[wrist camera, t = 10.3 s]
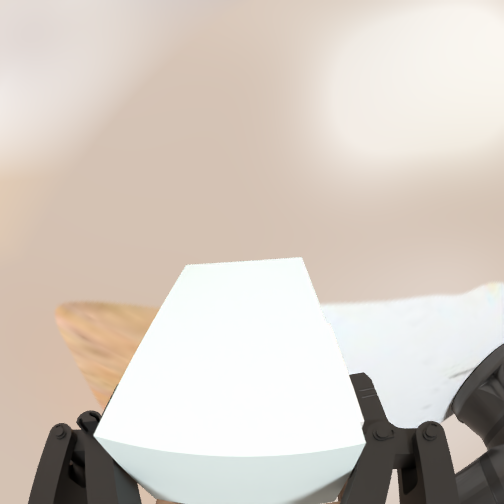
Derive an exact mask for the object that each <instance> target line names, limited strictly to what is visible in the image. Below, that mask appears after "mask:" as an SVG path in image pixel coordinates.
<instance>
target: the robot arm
mask: <svg viewBox="0 0 504 504" xmlns="http://www.w3.org/2000/svg"><path fill="white" fill-rule="evenodd" d="M327 325H328V328H329V331H330V334H331V337H332V339H333V342H334V345H335V348H336V351H337V354H338V357H339V359H340V362H341V365H342V368H343V371H344V374H345V377H346V380H347V383H348V386H349V389H350V393H351V396H352V399H353V402H354V405H355V408H356V411H357V415H358V418H359V421H360V425H361V428H362V431H363V435H364V438H365V441H366V444H365V446H364V448H363V450H362V452H361V454H360V456H359V458H358V460H357V462H356V464H355V466H354V468H353V470H352V472H351V474H350V475H349V478H348V481H347V484H346V487H345V490H344V493H343V496H342V499H341V502H340V504H385V502H386V497H387V493H388V489H389V484H390V480H391V475H392V469H397V473H398V484H399V497H400V504H504V344H503V345H502V346H500V347H499V348H498V349H496V350H495V351H494V352H493V353H492V354H490V355H489V356H488V357H487V358H486V359H485V360H484V361H483V362H482V363H481V364H480V365H479V366H478V367H477V369H476V370H475V371H474V372H473V373H472V374H471V375H470V377H469V378H468V379H467V380H466V382H465V383H464V384H463V386H462V387H461V389H460V390H459V392H458V394H457V395H456V397H455V399H454V402H453V406H452V409H453V412H454V414H455V415H456V417H457V419H458V420H459V421H460V422H462V423H465V424H466V425H467V426H468V427H469V428H470V429H471V430H473V431H474V432H475V433H476V434H477V435H479V436H480V437H481V438H482V440H483V442H484V444H485V446H486V447H487V450H488V451H487V452H486V453H484V454H483V455H482V456H480V457H479V458H478V459H477V460H475V461H474V462H472V463H471V464H469V465H468V466H467V467H465V468H464V469H462V470H461V471H459V472H458V473H456V474H455V473H454V469H453V464H452V460H451V455H450V451H449V447H448V443H447V439H446V436H445V432H444V429H443V427H442V426H441V425H440V424H439V423H437V422H434V421H427V422H424V423H422V424H421V425H420V426H419V427H418V428H409V429H404V428H398V427H395V426H394V425H393V424H391V423H390V422H389V421H388V420H387V418H386V415H385V413H384V410H383V407H382V405H381V402H380V400H379V397H378V396H377V393H376V390H375V389H374V385H373V383H372V380H371V379H370V378H369V377H368V376H367V375H366V374H365V373H358V374H352V375H349V374H348V371H347V368H346V365H345V362H344V360H343V357H342V354H341V351H340V349H339V346H338V343H337V340H336V338H335V335H334V332H333V330H332V327H331V324H330V323H328V324H327ZM118 385H119V384H118ZM118 385H117V386H116V388H117V387H118ZM116 388H115V390H116ZM115 390H114V392H115ZM114 392H113V394H114ZM112 396H113V395H112ZM112 396H111V398H112ZM111 398H110V400H111ZM110 400H109V402H110ZM109 402H108V404H109ZM108 404H107V406H108ZM107 406H106V408H107ZM106 408H105V410H106ZM105 410H104V412H105ZM104 412H103V414H104ZM103 414H102V416H103ZM102 416H101V415H100V414H99V413H98V412H96V411H86V412H84V413H82V414H81V415H80V416H79V417H78V419H77V422H76V423H77V424H78V425H79V427H80V428H81V429H82V430H72V429H71V428H70V427H69V426H68V425H67V424H64V423H59V424H57V425H55V426H54V427H52V429H51V431H50V433H49V436H48V438H47V441H46V444H45V447H44V450H43V453H42V456H41V459H40V462H39V465H38V468H37V472H36V475H35V479H34V483H33V486H32V490H31V493H30V497H29V502H28V504H142V503H141V499H140V494H139V489H138V485H137V482H136V481H135V480H134V479H133V478H132V477H131V476H130V475H129V474H128V473H127V472H126V471H125V470H124V469H123V468H122V467H121V466H120V465H119V464H118V463H117V462H116V461H115V460H114V459H113V458H112V456H111V455H110V454H109V453H108V452H107V451H106V450H105V449H104V448H103V446H102V445H101V444H100V443H99V442H98V441H97V439H96V438H95V437H94V436H93V435H94V433H95V431H96V429H97V427H98V425H99V423H100V420H101V418H102Z"/></svg>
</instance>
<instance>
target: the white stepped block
mask: <svg viewBox="0 0 504 504" xmlns="http://www.w3.org/2000/svg"><path fill="white" fill-rule="evenodd" d="M93 436H94V437H95V438H96V439H97V441H98V442H99V443H100V444H101V445H102V446H103V448H104V449H105V450H106V451H107V452H108V453H109V454H110V455H111V456H112V458H113V459H114V460H115V461H116V462H117V463H118V464H119V465H120V466H121V467H122V468H123V469H124V470H125V471H126V472H127V473H128V474H129V475H130V476H131V477H132V478H133V479H134V480H135V481H136V482H137V483H138V484H140V485H141V486H142V487H143V488H144V489H145V490H146V491H147V492H149V493H150V494H151V495H152V496H153V497H154V498H155V499H160V500H165V501H171V502H177V503H183V504H320V503H327V502H333V501H335V499H336V498H337V496H338V495H339V493H340V491H341V489H342V488H343V486H344V484H345V483H346V481H347V479H348V477H349V475H350V474H351V472H352V470H353V468H354V466H355V464H356V462H357V460H358V458H359V456H360V454H361V452H362V450H363V448H364V446H365V444H366V441H365V438H364V435H363V431H362V428H361V425H360V421H359V418H358V415H357V411H356V408H355V405H354V402H353V399H352V396H351V393H350V389H349V386H348V383H347V380H346V377H345V374H344V371H343V368H342V365H341V362H340V359H339V357H338V354H337V351H336V348H335V345H334V342H333V339H332V337H331V334H330V331H329V328H328V325H327V323H326V320H325V317H324V314H323V312H322V309H321V306H320V304H319V301H318V298H317V296H316V293H315V291H314V288H313V285H312V283H311V280H310V277H309V275H308V272H307V270H306V267H305V265H304V262H303V259H302V257H298V258H284V259H270V260H256V261H240V262H226V263H210V264H194V265H186V266H185V268H184V270H183V271H182V273H181V275H180V276H179V278H178V279H177V281H176V283H175V284H174V286H173V288H172V290H171V291H170V293H169V295H168V296H167V298H166V300H165V301H164V303H163V305H162V307H161V308H160V310H159V312H158V313H157V315H156V317H155V319H154V320H153V322H152V324H151V326H150V327H149V329H148V331H147V333H146V335H145V336H144V338H143V340H142V342H141V344H140V345H139V347H138V349H137V351H136V353H135V354H134V356H133V358H132V360H131V362H130V364H129V366H128V367H127V369H126V371H125V373H124V375H123V377H122V379H121V381H120V383H119V385H118V387H117V388H116V390H115V392H114V394H113V396H112V398H111V400H110V402H109V404H108V406H107V408H106V410H105V412H104V414H103V416H102V418H101V420H100V423H99V425H98V427H97V429H96V431H95V433H94V435H93Z"/></svg>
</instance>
